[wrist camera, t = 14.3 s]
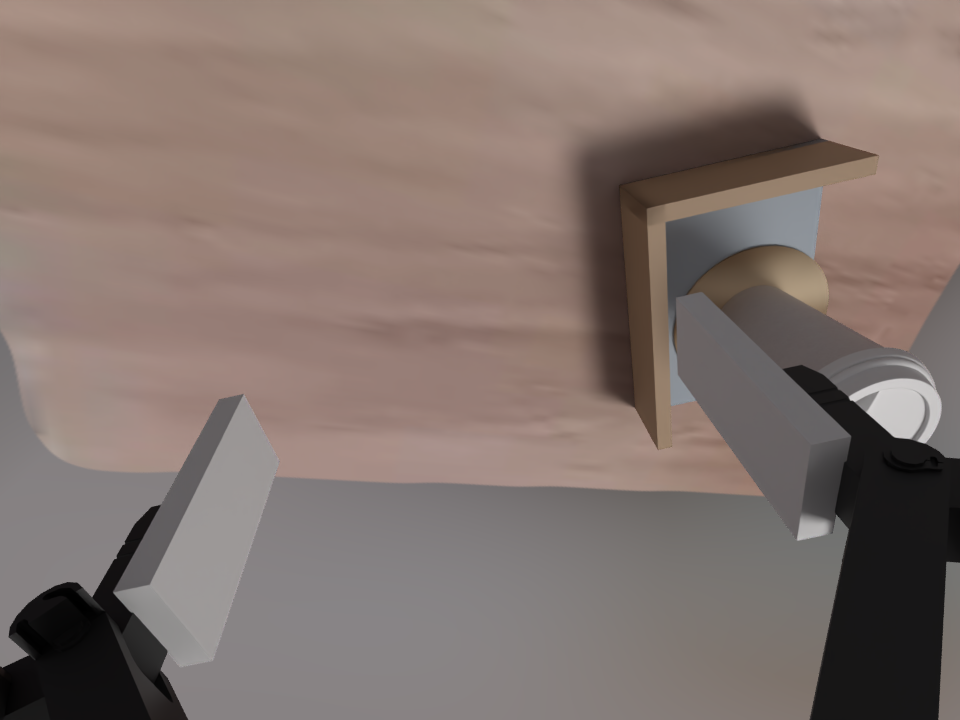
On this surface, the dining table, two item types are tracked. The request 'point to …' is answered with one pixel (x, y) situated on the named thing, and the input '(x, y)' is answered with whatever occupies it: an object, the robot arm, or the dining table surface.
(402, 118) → the dining table surface
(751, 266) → the pad
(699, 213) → the tray
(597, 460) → the dining table surface
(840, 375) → the coffee cup
